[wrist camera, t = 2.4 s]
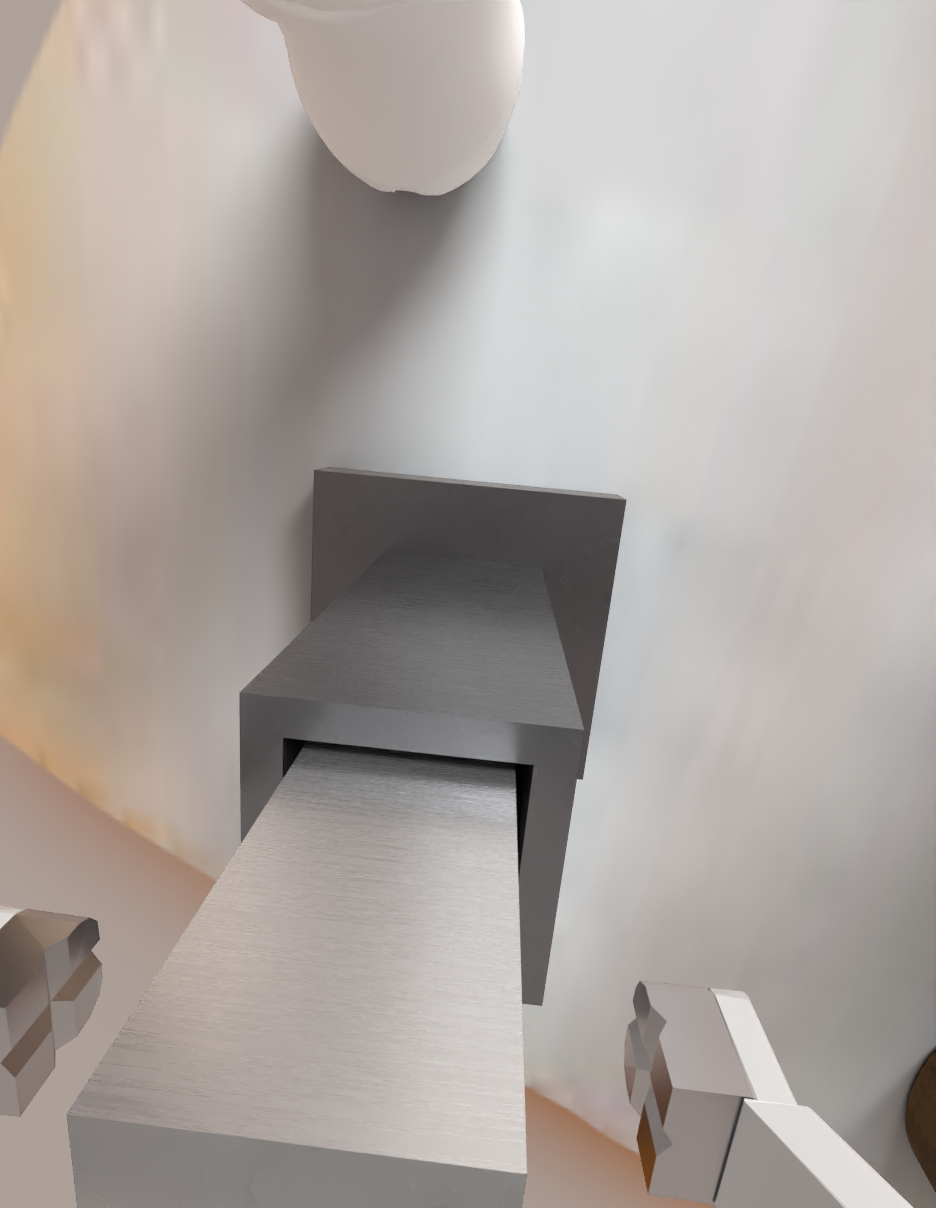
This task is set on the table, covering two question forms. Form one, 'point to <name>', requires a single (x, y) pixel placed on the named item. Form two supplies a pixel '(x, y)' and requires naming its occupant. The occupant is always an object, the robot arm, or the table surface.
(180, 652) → the table surface
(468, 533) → the stand
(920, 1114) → the wooden container
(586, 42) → the table surface
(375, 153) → the water bottle
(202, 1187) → the column
